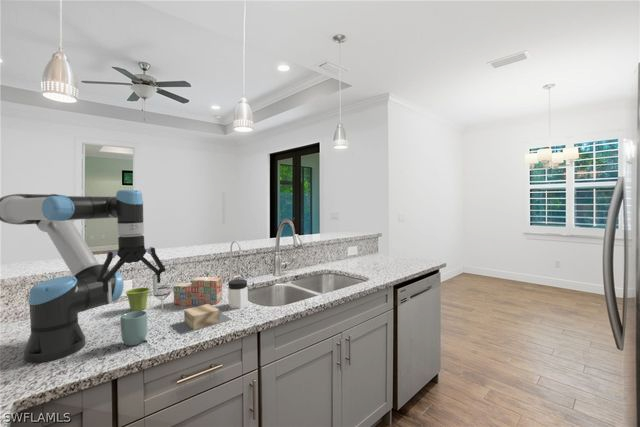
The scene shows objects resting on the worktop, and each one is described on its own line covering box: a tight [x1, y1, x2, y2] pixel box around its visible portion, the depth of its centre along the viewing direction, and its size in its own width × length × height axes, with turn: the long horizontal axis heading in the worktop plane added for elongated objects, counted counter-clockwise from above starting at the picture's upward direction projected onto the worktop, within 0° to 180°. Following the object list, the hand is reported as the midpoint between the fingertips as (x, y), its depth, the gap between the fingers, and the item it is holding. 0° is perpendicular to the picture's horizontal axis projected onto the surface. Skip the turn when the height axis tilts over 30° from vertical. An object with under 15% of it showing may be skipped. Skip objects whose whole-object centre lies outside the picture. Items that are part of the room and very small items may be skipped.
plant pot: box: [125, 287, 151, 312], centre depth 137 cm, size 9×9×9 cm
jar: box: [227, 278, 249, 309], centre depth 138 cm, size 9×8×12 cm
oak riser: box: [183, 304, 220, 330], centre depth 119 cm, size 10×10×5 cm
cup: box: [119, 310, 148, 347], centre depth 104 cm, size 8×8×10 cm
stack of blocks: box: [173, 276, 223, 307], centre depth 144 cm, size 21×6×12 cm, turn 84°
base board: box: [170, 311, 233, 335], centre depth 119 cm, size 20×12×1 cm, turn 133°
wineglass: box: [152, 284, 172, 317], centre depth 130 cm, size 7×7×12 cm
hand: (133, 296), depth 103 cm, fingers open, 13 cm apart
